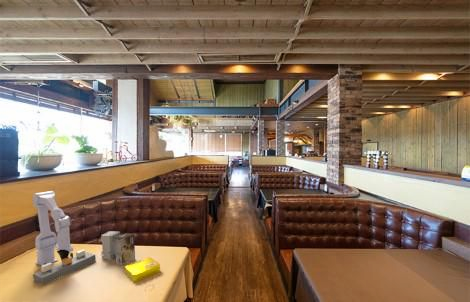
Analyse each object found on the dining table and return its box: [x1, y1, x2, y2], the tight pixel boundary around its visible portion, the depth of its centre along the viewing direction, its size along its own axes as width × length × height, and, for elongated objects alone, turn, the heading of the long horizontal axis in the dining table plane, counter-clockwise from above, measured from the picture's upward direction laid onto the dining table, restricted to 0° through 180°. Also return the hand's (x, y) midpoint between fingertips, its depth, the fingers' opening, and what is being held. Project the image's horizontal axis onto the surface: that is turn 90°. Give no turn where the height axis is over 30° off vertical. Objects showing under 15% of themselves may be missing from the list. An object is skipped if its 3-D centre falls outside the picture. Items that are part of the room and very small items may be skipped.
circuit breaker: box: [100, 230, 121, 260], centre depth 152 cm, size 8×14×15 cm, turn 78°
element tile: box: [124, 256, 161, 283], centre depth 131 cm, size 15×15×5 cm
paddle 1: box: [40, 263, 53, 272], centre depth 129 cm, size 2×4×3 cm, turn 154°
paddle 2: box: [75, 249, 86, 258], centre depth 145 cm, size 2×4×3 cm, turn 154°
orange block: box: [61, 255, 72, 265], centre depth 136 cm, size 2×4×3 cm, turn 154°
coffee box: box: [115, 232, 136, 267], centre depth 145 cm, size 9×6×16 cm
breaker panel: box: [33, 251, 97, 286], centre depth 136 cm, size 9×28×4 cm, turn 154°
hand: (64, 261), depth 137 cm, fingers closed
